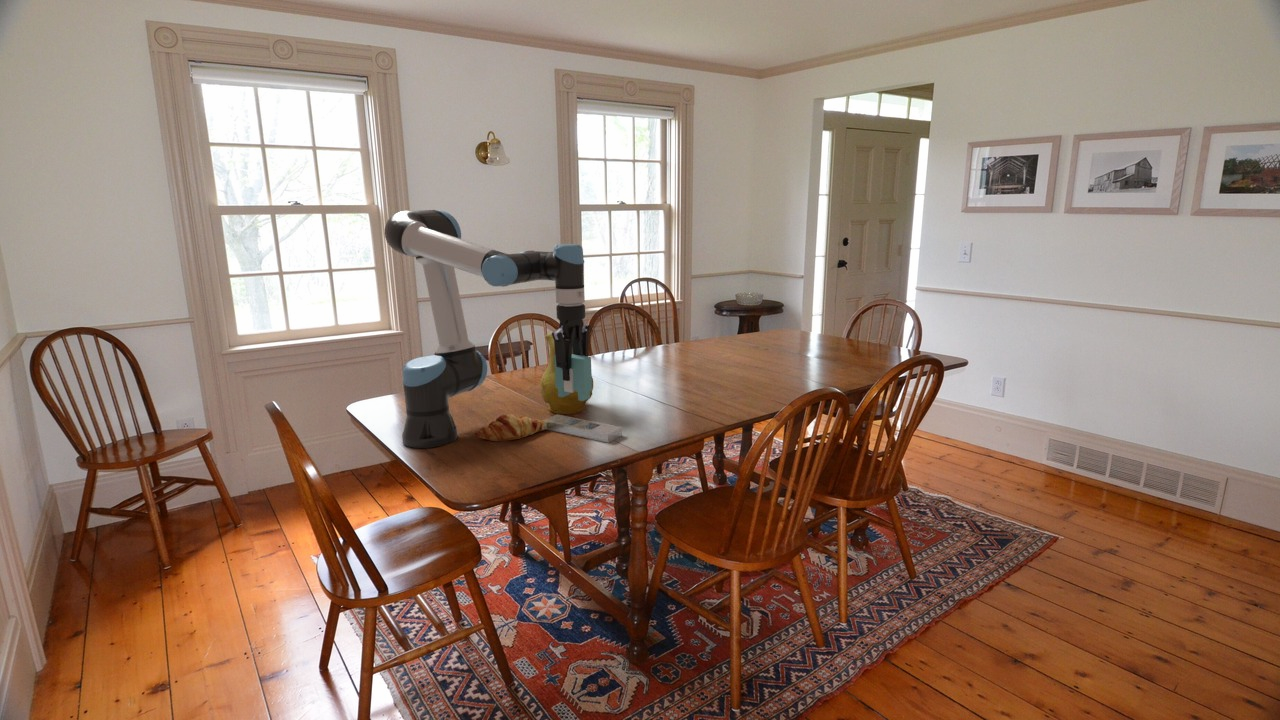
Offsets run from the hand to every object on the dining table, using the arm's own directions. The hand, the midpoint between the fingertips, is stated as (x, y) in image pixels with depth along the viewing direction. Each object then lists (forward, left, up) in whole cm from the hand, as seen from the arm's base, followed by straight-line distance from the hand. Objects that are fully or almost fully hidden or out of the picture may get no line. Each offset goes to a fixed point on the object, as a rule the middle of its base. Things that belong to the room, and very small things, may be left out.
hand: (573, 389), depth 176 cm
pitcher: (+28, +24, -17) cm, 40 cm away
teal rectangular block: (0, 0, -2) cm, 2 cm away
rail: (+11, +6, -16) cm, 21 cm away
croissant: (-2, +22, -17) cm, 28 cm away
